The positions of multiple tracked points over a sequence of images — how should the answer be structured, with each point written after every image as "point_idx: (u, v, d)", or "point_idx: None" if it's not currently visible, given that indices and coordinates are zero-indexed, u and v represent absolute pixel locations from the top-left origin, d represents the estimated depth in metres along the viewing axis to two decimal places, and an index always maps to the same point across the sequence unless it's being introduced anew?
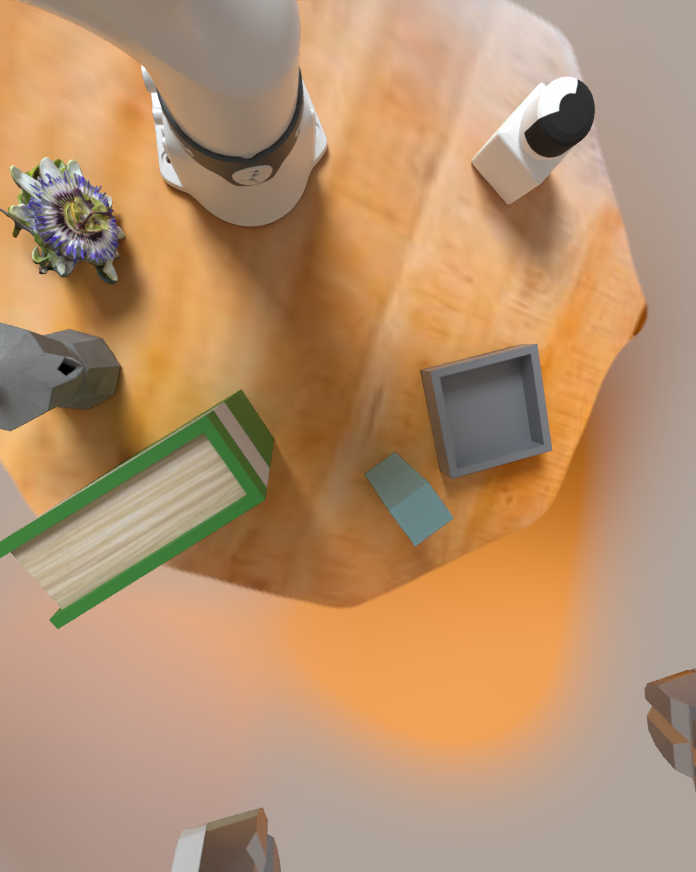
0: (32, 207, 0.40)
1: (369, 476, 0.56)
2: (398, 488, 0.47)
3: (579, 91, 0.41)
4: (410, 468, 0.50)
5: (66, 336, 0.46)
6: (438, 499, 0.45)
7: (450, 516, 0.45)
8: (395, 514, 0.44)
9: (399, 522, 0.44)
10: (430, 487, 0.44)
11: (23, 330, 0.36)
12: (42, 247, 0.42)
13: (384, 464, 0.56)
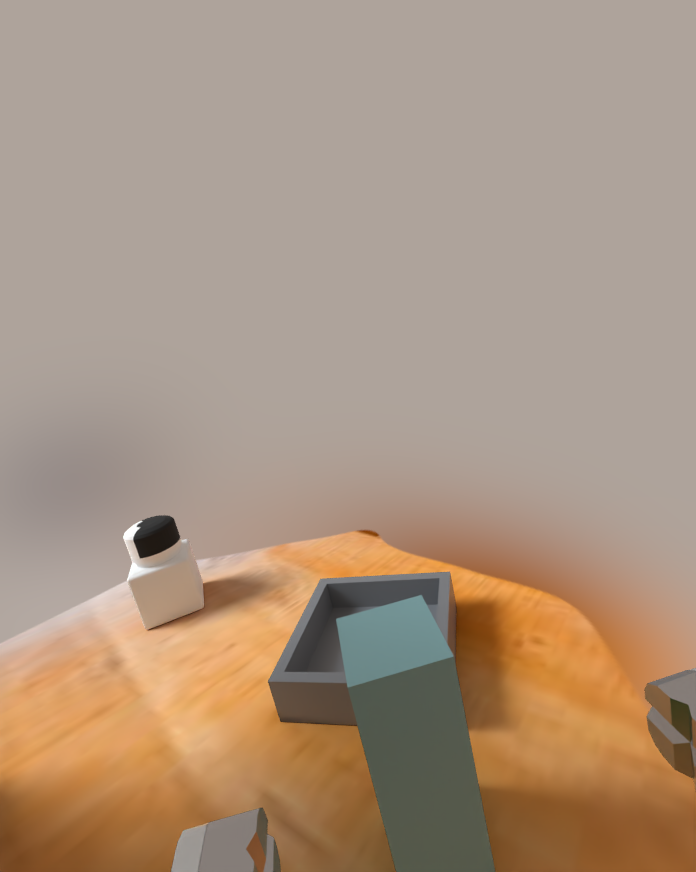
0: None
1: None
2: None
3: (145, 519, 0.55)
4: None
5: None
6: (375, 609, 0.24)
7: (416, 598, 0.24)
8: (364, 676, 0.20)
9: (383, 673, 0.20)
10: (347, 617, 0.24)
11: None
12: None
13: None
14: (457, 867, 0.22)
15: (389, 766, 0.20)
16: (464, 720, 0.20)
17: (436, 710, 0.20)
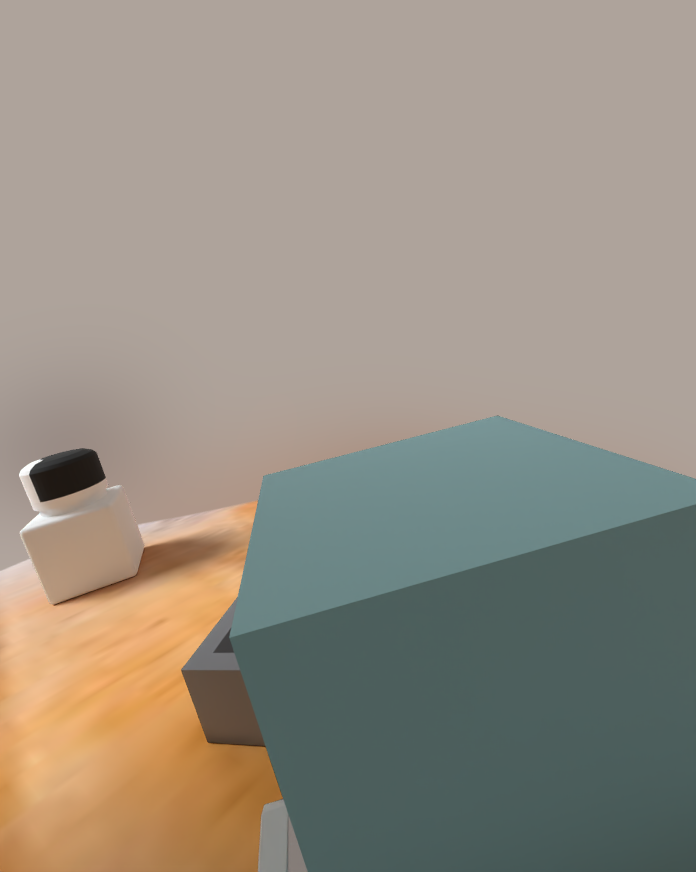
0: None
1: None
2: None
3: None
4: None
5: None
6: (373, 449, 0.09)
7: (484, 421, 0.09)
8: (320, 590, 0.04)
9: (409, 573, 0.04)
10: (294, 469, 0.09)
11: None
12: None
13: None
14: None
15: None
16: None
17: (636, 745, 0.05)
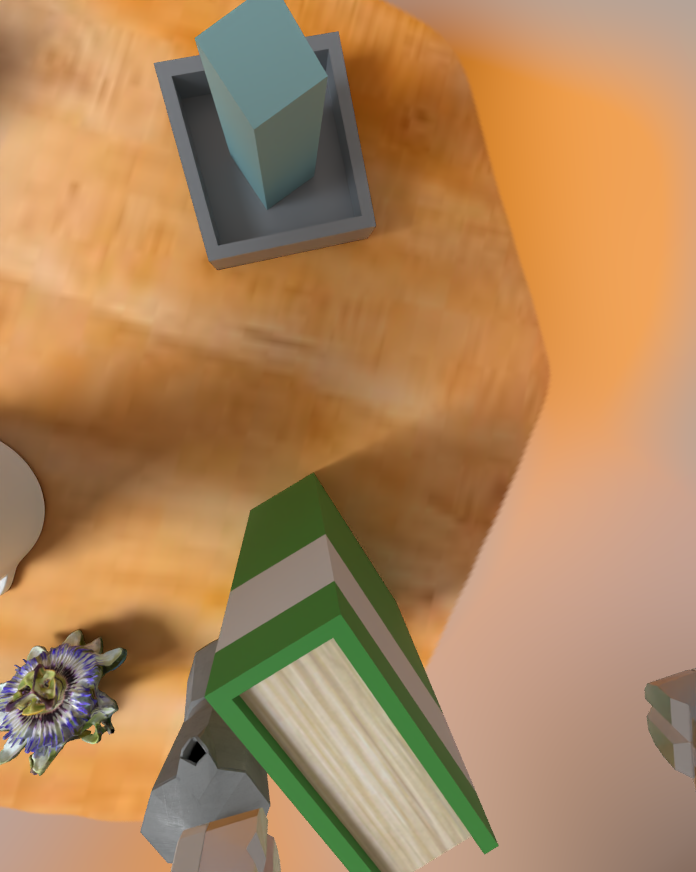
0: (35, 747, 0.36)
1: (263, 198, 0.35)
2: (236, 121, 0.26)
3: None
4: (216, 104, 0.28)
5: (188, 698, 0.42)
6: (231, 16, 0.23)
7: None
8: (262, 114, 0.24)
9: (277, 107, 0.24)
10: (206, 33, 0.23)
11: (151, 795, 0.31)
12: (85, 728, 0.39)
13: (244, 171, 0.35)
14: (296, 181, 0.36)
15: (271, 157, 0.28)
16: (321, 112, 0.27)
17: (306, 115, 0.26)
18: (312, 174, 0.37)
